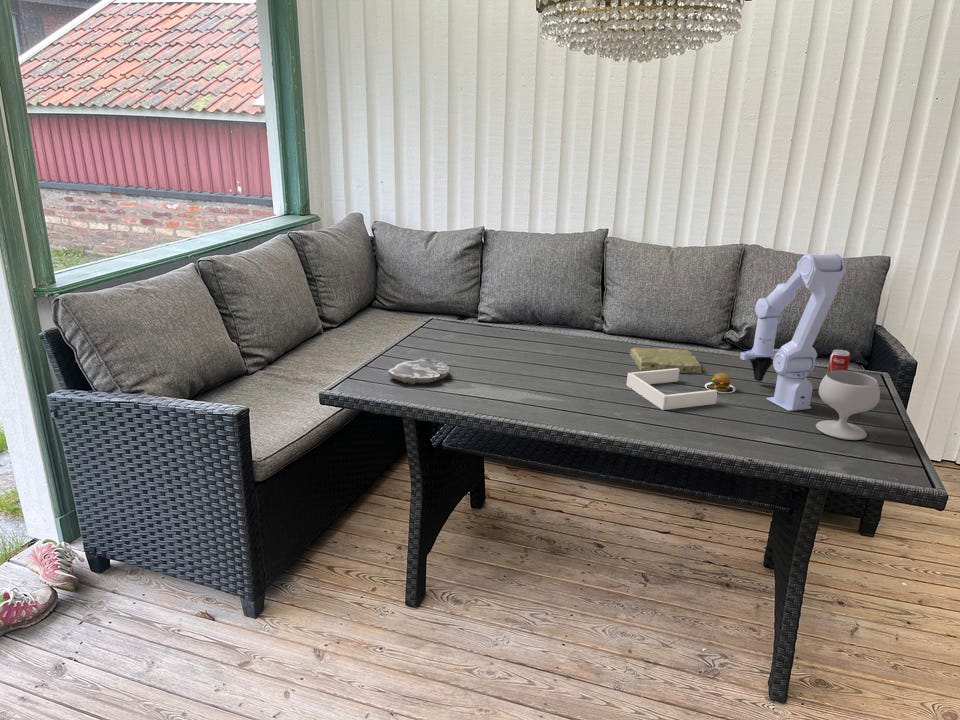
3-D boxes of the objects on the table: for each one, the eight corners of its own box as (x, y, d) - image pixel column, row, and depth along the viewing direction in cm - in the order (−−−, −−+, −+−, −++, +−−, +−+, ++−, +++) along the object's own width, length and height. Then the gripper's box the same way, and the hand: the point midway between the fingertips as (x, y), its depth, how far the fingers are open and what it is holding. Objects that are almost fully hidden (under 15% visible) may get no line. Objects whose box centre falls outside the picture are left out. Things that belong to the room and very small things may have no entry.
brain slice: (422, 392, 202) (422, 383, 201) (380, 379, 211) (380, 370, 210) (463, 375, 217) (464, 366, 216) (423, 363, 226) (423, 354, 225)
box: (715, 403, 198) (717, 390, 197) (662, 410, 193) (664, 396, 192) (676, 380, 216) (677, 368, 215) (626, 385, 211) (627, 372, 210)
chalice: (824, 416, 191) (834, 365, 187) (878, 432, 182) (890, 379, 177) (802, 430, 182) (812, 376, 177) (859, 448, 173) (871, 391, 168)
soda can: (826, 384, 216) (833, 347, 212) (844, 388, 213) (852, 351, 209) (822, 389, 212) (830, 352, 208) (841, 393, 209) (849, 355, 205)
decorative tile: (629, 355, 240) (630, 345, 239) (687, 357, 240) (688, 347, 239) (639, 373, 223) (640, 363, 222) (702, 375, 222) (703, 365, 221)
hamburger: (695, 392, 208) (697, 375, 206) (704, 381, 218) (706, 364, 216) (736, 401, 203) (739, 383, 201) (743, 388, 213) (746, 371, 211)
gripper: (775, 332, 215) (768, 373, 219) (736, 335, 211) (730, 377, 215) (791, 338, 209) (784, 381, 213) (751, 342, 204) (745, 385, 209)
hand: (758, 379), depth 214 cm, fingers closed
